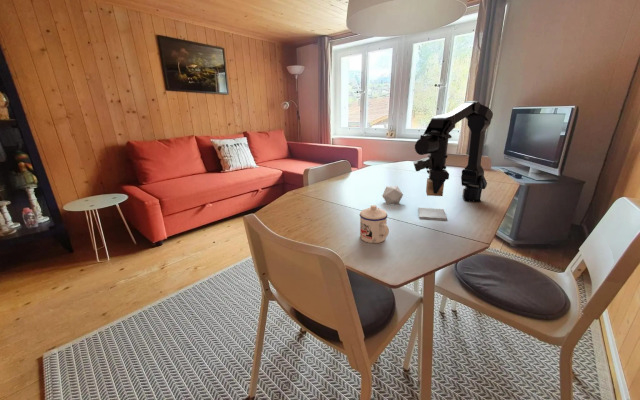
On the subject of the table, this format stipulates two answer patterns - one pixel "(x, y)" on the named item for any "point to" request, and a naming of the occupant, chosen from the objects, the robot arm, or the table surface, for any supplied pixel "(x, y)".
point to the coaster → (432, 213)
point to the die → (392, 195)
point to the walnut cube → (430, 189)
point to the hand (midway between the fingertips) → (434, 191)
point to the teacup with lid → (373, 225)
